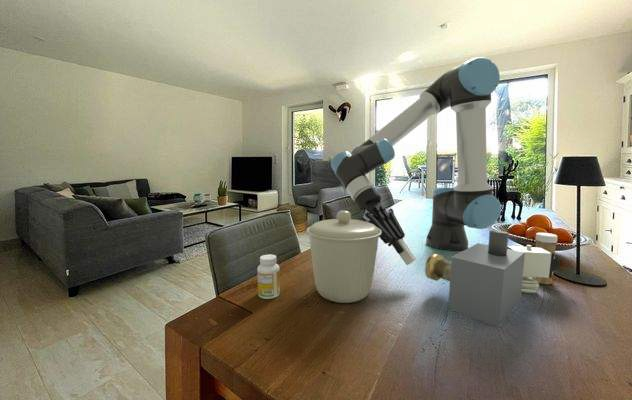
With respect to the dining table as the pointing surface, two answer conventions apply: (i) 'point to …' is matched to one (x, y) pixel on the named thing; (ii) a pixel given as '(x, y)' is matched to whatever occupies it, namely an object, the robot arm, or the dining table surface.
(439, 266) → the knob
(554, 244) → the sprinkles bottle
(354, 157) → the robot arm
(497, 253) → the grey upright block
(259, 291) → the supplement bottle
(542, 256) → the pneumatic valve
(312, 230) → the canister
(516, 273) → the block
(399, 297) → the dining table surface
